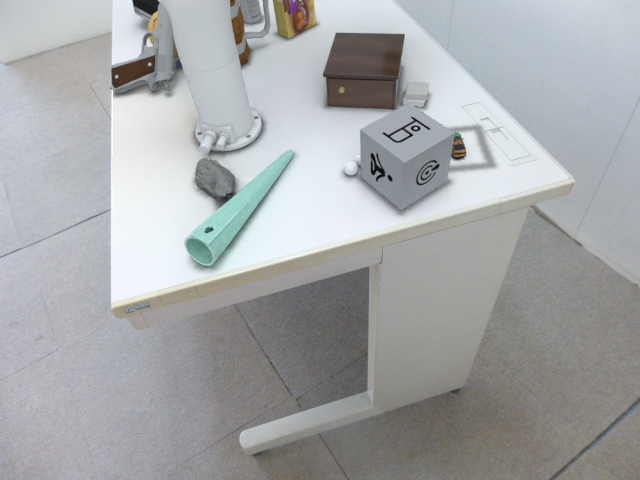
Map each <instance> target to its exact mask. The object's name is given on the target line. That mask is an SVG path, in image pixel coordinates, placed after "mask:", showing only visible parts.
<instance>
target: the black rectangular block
mask: <svg viewBox="0 0 640 480" xmlns="http://www.w3.org/2000/svg"><path fill="white" fill-rule="evenodd" d="M131 1H132V8H133V10H134V14H136V15H137V16H138V17H141V18H142V19H144V20H146V21H148V22H149V21H150V19H151V16H152V15H153V14H154V13H155V12H157V11H158V5H159V4H160V2H159V1H158V0H131Z"/></svg>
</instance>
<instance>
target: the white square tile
mask: <svg viewBox="0 0 640 480" xmlns="http://www.w3.org/2000/svg"><path fill="white" fill-rule="evenodd" d="M406 89H407V90H406ZM406 89H405V92H406V99H416V100H425V101H428V95H429V82H426V81H425V82H421V81H407V83H406Z"/></svg>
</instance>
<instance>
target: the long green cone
mask: <svg viewBox="0 0 640 480" xmlns="http://www.w3.org/2000/svg"><path fill="white" fill-rule="evenodd" d="M294 153H295V152H294V150H293V149H288V150H286V151H285V152H284V153H283V154H281V155H280V156H279V157H278V158H277V159H275V160H274V161H273V162H272V163H270V164H269V165H268V166H267V167H266V168H264V170H262V171H261V172H259V174H258V175H256V176H255V177H253V179H252V180H251V181H249V182H248V183H247V184H246V185H244V186H243V187H242V188H241V189H240V190H239V191H237V192H236V194H235V193H234V196H233V197H232V198H231V199H229V200H226V202H225V203H224V204H223V205H221V206H220V207H219V208H218V209H217V210H215V211H214V212H213V213H212V214H211V215H210V216H208V217H207V218H206V219H205V220H204V221H203V222H201V223H200V224H199V225H198V226H197V227H196V228H194V230H193V231H191V232H190V233H189V234H188V236H186V237H185V238H184V241H183V245H184V248H185V251H186V252H187V254H188V255H189V256H190V257H191V259H192V260H194V261H195V262H196V263H197V264H200V265H201V266H206V267H210V266H212V265H214V264H215V262H216V261H217V260H218V259H219V258H220V256H221V255H222V254H223V252H224V251H225V250H226V249H227V247H228V246H229V245H230V243H231V242H232V241H233V239H234V238H235V237H236V236H237V234H238V232H239V231H240V230H241V229H242V227H243V226H244V224H245V223H246V221H247V220H248V219H249V217H250V216H251V214H252V213H253V212H254V211H255V209H256V208H257V207H258V205H259V204H260V202H261V201H262V200H263V198H264V197H265V196H266V195H267V193H268V191H269V190H270V189H271V188H272V186H273V184H275V182H276V180H277V179H278V177H279V176H280V175H281V174H282V173H283V171H284V169H286V167H287V165H288V164H289V162H290V161H291V160H292V158H293V156H294Z"/></svg>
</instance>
